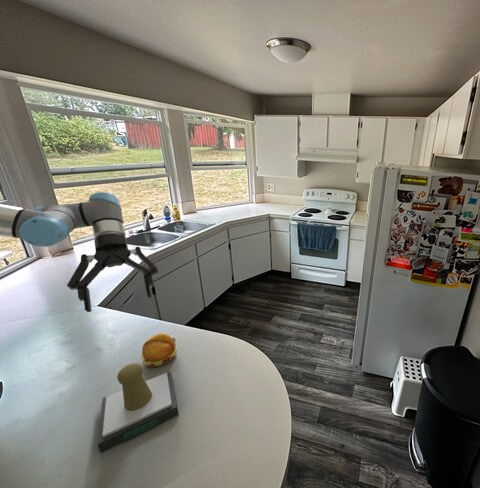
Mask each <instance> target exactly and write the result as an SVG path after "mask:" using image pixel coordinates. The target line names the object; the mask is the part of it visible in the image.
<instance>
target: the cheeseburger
mask: <svg viewBox="0 0 480 488" xmlns="http://www.w3.org/2000/svg"><path fill="white" fill-rule="evenodd" d="M176 343H177V342H176V338H175V337H172V336H170V334H166V333H158V334H154V335H153V336H151V337H149V338H148V339H147V340H146V341H145V342H144V343H143V345H142V349H141V358H142V364H143V365H145V366H146V367H150V368H156V367H160V366H163V365H165V364H167V363H168V362H170V361H171V360H172V359H173V358H174V357H175V355H176V353H177V350H178V349H177V347H176V345H177V344H176Z"/></svg>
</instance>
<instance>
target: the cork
mask: <svg viewBox="0 0 480 488" xmlns="http://www.w3.org/2000/svg"><path fill="white" fill-rule="evenodd" d="M143 374H144V366H142V364H140V363H138V362H132V363H129V364H126V365H125V366H123V367H121V369H120V370H119V371H118V373H117V382H118V383H119V384H121V386H122V390H123V397H124V407H125V409H126V410H128V411H134V410H137V409H140V408H142V407H143V406H145V405H146V404H147V403H148V402H149V401H150V400H151V397H152V392H151V391H150V389H149V387H148V385H147V383H146V381H147V380H146V379H145V377H144V376H143Z"/></svg>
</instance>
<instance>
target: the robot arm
mask: <svg viewBox="0 0 480 488" xmlns="http://www.w3.org/2000/svg"><path fill="white" fill-rule="evenodd" d="M122 210H123V209H122V207H121V203H120V199H119V198H118V197H117V196H116V195H115V194H113V193H111V192H107V191H98V192H97V191H96V192H95V193H92V194H90V196H89V197H88V201H82V202H74V203H62V204H48V205H43V206H36V207H35V208H33V209H27V208H23V207H18V206H12V205H7V204H1V203H0V237H7V238H12V239H13V238H14V239H21V240H23V241H24V242H26V243H27V244H29V245H31V246H35V247H39V248H42V247H43V248H44V247H52V246H55V245H57V244H59V243H61V242H62V241H64V240H65V239H67V237H68V236H69V234H70V233H71V232H73V231H74V230H75V229H80V228H88V227H92V234H93V238H94V240H93V242H94V249H95V252H94V254H91V255H90V254H89V255H87V254H85V253H82V254H81V255H80V262H79V264H78V265H77V267H76V269H75V270H74V272H73V274H72V276H71V277H70V279H69V281H68V282H67V285H66V286H67V287H68V288H69V289H70V290H72V291H74V290H77V298H78V300H80V302H83V305H84V311H85V312H87V313H91V312H92V303H91V294H90V289H89V288H88V286H89V285H90V284H91V283H92V282H93V281H94V280H95V278H96V277H97V276H98V275H99V274H100V273H101V272H103V271H104V269H106V268H113V267H121V266H123V265H126V266H128V267H131V268H133V269H134V270H136V271H137V272H139V273H140V274H142V275H143V280H144V287H145V290H146V296H147V298H152V293H151V289H150V287H152V286H153V285H154V281H153V275H155V274H158V272H159V270H158V267H157V266H156V265H155V264H154V263H153V262H152V261H151V260H150V259H149V258H148V257H147V256H146V255H145V254H144V253H143V252H142V250H141V247H140V246H135V247H134V248H132V249H130V248H129V247H128V241H127V237H126V229H125V223H124V218H123V211H122ZM132 255H134V256H135V257H137V258H139V260H140V261H141V262H142V263H143V264H144V265H145V266H146V267H147V268H146V267H145V266H143V265H141V264H140V263H138V262H136V261H135V260H132V259H131V258H130V257H131V256H132ZM94 260H95V261H96V262H95V264H94V266H93V267H92V268H91V269H90V270H89V271H88V272H87V273H86V271H87V270H88V268H89V265H90V264H91V263H92V262H93V261H94ZM85 273H86V274H85Z"/></svg>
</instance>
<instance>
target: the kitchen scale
mask: <svg viewBox="0 0 480 488" xmlns="http://www.w3.org/2000/svg"><path fill="white" fill-rule="evenodd" d="M145 381H146V383H147V385H148V387H149V389H150V391H151V392H152V397H151V400H150V401H149V402H148V403H147V404H146V405H145V406H143V407H142V408H140V409H137V410H134V411H128V410H126V409H125V407H124V397H123V389H122V390H120V391H116V392H115V393H111V394H109V395H107V396H104V397H102V400H101V401H102V402H101V409H100V417H99V426H98V435H97V443H96V445H97V447H98V450H99V452H100V453H103V452H106V451H108V450H110V449H112V448H114V447H116V446H118V445H121V444H122V443H124V442H126V441H128V440H130V439H132V438H134V437H136V436H138V435H140V434H143V433H145V432H146V431H149V430H150V429H152V428H154V427H157V426H159V425H161V424H163V423H165V422H167V421H169V420H171V419H173V418H175V417H178V416H179V413H180V412H179V408H178V403H177V398H176V391H175V386H174V380H173V375H172V371H168V372H165V373H162V374H159V375H157V376H155V377H152V378H150V379H147V380H145Z"/></svg>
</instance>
